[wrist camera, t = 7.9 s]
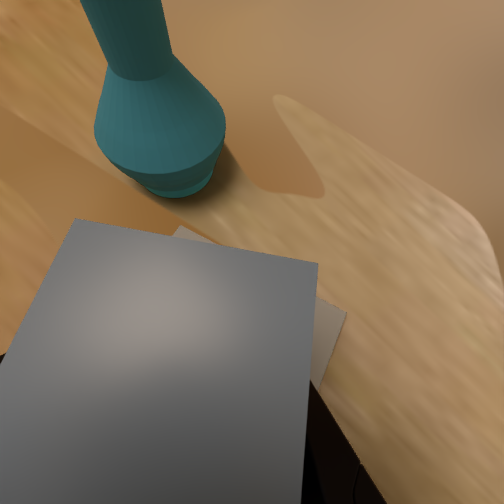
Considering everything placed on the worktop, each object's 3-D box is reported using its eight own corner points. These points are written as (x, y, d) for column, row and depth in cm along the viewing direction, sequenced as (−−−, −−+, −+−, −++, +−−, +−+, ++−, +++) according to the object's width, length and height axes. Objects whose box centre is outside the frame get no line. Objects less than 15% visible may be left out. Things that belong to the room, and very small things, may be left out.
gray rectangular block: (251, 432, 13) (291, 634, 4) (135, 411, 13) (-100, 560, 4) (268, 313, 16) (318, 263, 6) (170, 295, 16) (75, 218, 6)
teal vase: (246, 183, 22) (266, -108, 8) (148, 229, 20) (-66, -63, 6) (198, 116, 24) (149, -193, 10) (107, 150, 22) (-112, -186, 8)
